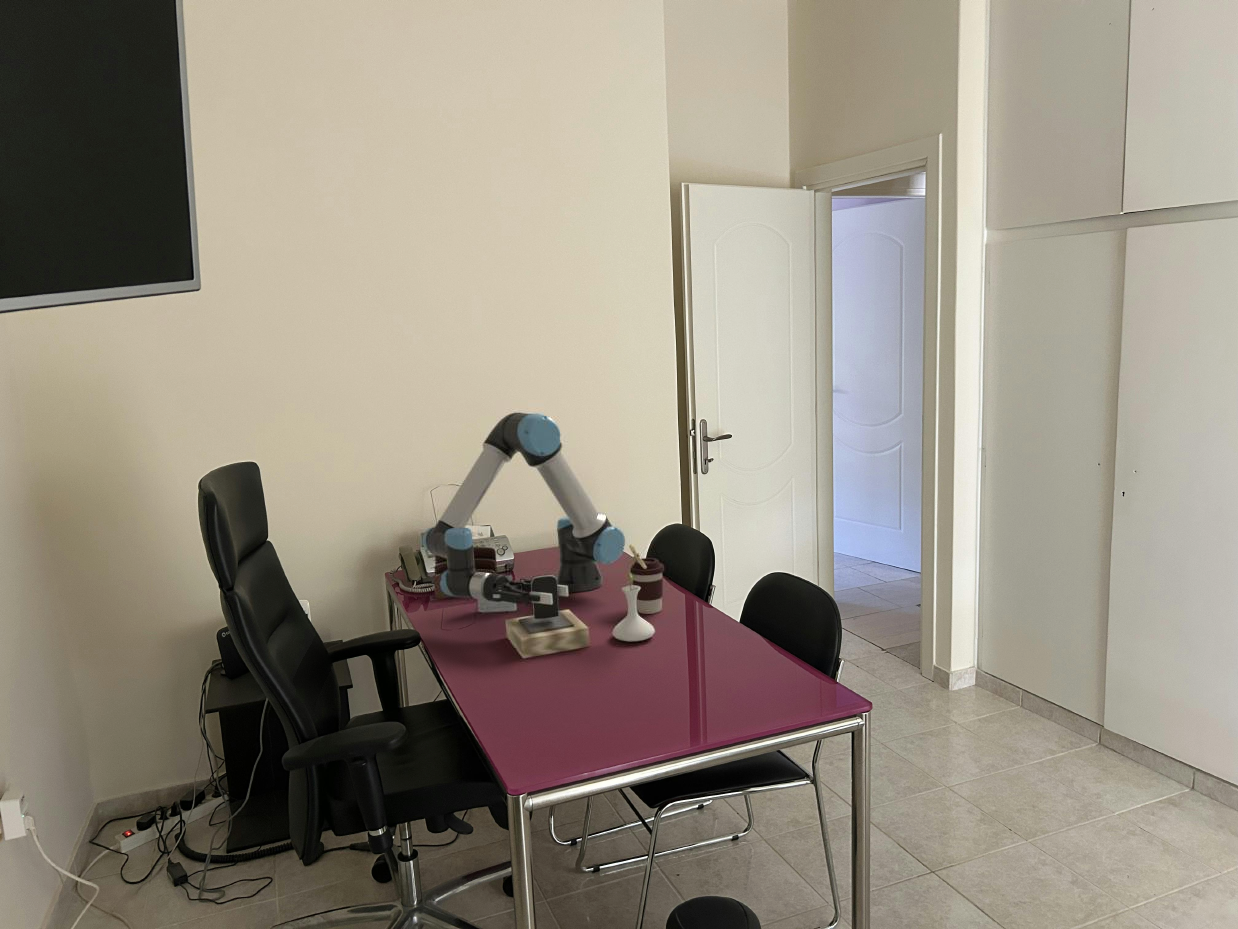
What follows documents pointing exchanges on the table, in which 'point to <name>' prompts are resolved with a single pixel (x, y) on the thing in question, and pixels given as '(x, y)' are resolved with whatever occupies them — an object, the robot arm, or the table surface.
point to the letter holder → (482, 561)
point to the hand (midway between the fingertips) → (559, 595)
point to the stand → (547, 634)
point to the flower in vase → (633, 612)
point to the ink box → (497, 604)
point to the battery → (545, 585)
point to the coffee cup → (648, 585)
